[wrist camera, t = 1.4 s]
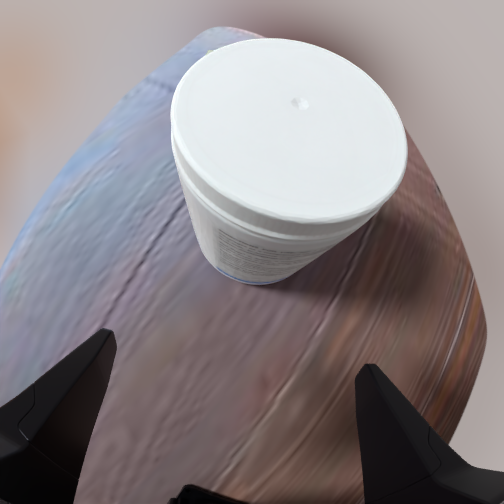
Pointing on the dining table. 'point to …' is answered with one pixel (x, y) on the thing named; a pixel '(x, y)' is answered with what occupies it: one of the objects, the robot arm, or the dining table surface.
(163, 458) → the dining table surface
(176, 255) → the dining table surface
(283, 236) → the supplement tub
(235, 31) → the dining table surface
